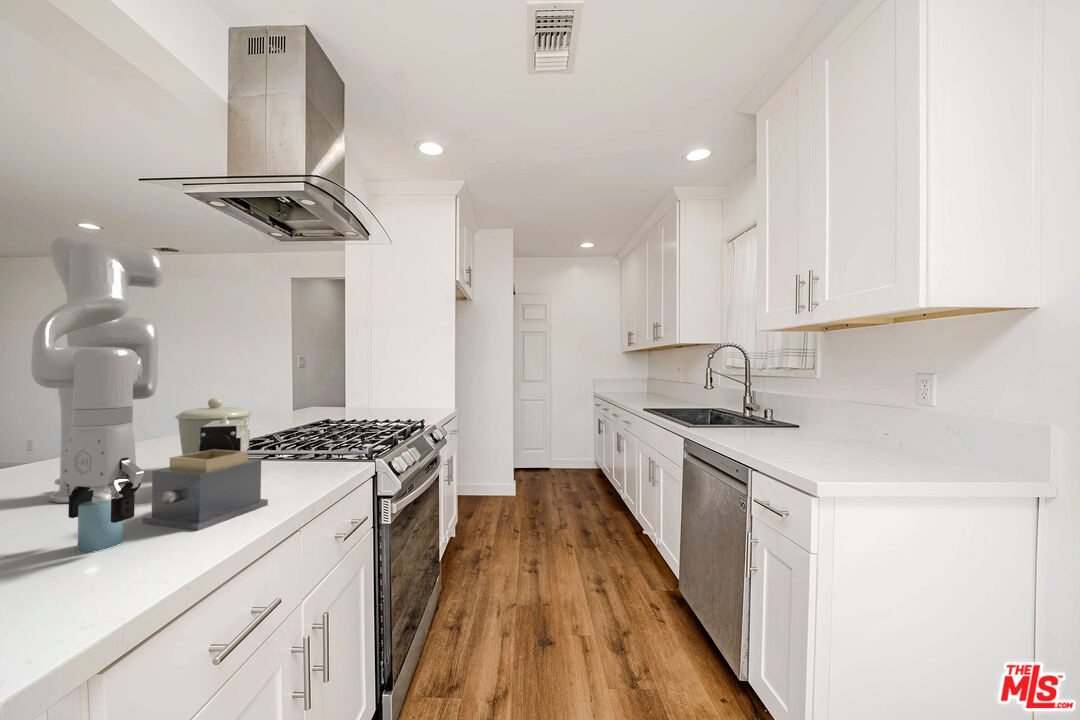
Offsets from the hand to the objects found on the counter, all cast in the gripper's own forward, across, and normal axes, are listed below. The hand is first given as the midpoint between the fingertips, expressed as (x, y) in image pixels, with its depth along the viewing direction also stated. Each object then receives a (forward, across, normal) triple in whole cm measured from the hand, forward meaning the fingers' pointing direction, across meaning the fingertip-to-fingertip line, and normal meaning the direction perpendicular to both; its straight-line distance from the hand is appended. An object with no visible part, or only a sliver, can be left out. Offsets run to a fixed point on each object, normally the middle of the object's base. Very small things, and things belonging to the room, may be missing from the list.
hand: (101, 517), depth 78 cm
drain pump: (+5, 0, 0) cm, 5 cm away
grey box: (+5, +2, +18) cm, 19 cm away
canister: (+4, -32, +47) cm, 57 cm away
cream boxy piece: (+5, -14, +36) cm, 39 cm away
